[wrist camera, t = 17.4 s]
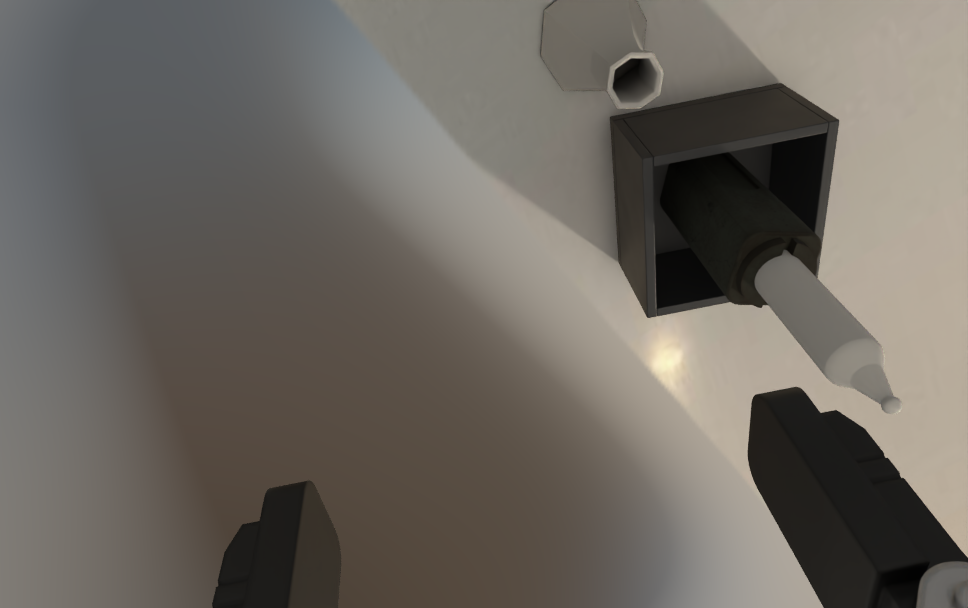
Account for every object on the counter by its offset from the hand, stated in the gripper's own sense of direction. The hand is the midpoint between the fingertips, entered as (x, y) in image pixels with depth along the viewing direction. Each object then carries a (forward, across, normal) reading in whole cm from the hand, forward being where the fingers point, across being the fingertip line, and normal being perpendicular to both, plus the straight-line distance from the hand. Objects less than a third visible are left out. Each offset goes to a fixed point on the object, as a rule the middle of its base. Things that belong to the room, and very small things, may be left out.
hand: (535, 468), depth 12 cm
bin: (+38, -17, +15) cm, 44 cm away
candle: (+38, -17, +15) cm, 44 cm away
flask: (+38, -10, +3) cm, 40 cm away
